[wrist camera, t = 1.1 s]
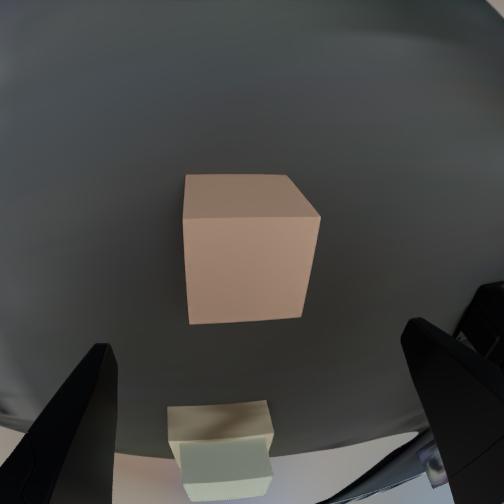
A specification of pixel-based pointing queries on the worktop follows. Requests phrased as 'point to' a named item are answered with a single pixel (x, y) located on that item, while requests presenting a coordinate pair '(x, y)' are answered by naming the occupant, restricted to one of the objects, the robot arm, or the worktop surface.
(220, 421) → the tower base
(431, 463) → the small box
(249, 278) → the terracotta cube
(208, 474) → the tower top
